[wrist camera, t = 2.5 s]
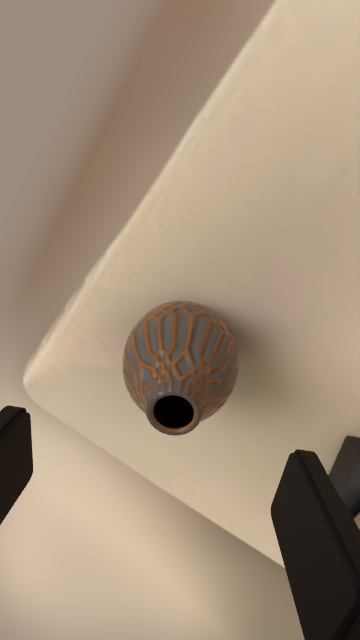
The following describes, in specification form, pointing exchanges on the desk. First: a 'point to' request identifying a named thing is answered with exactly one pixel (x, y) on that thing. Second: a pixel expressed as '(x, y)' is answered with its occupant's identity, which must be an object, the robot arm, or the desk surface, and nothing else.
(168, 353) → the vase
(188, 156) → the desk surface
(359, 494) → the scale
